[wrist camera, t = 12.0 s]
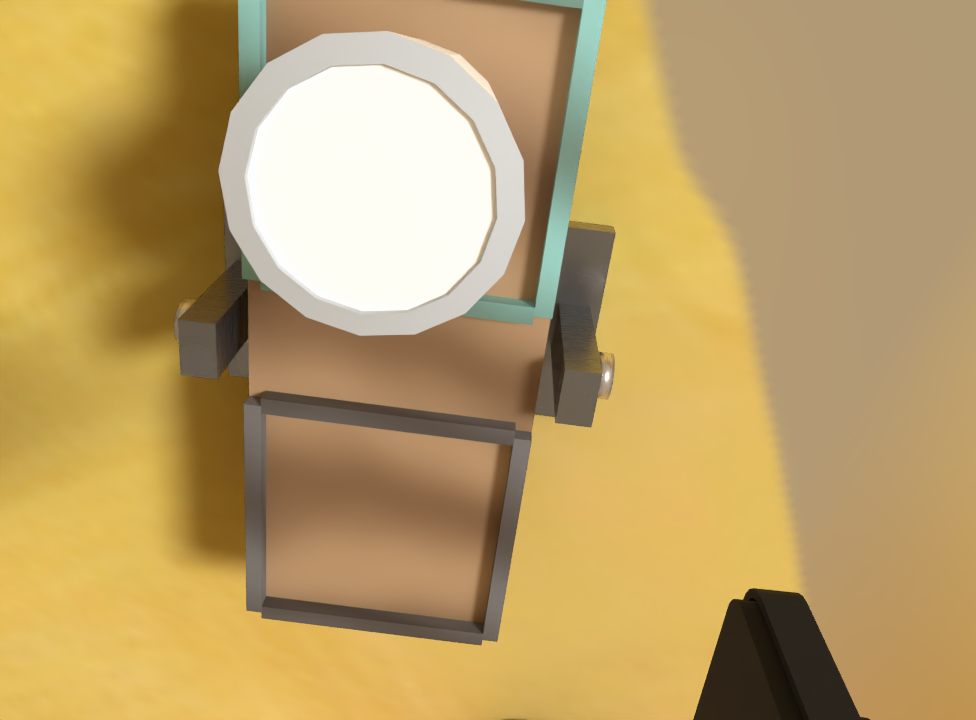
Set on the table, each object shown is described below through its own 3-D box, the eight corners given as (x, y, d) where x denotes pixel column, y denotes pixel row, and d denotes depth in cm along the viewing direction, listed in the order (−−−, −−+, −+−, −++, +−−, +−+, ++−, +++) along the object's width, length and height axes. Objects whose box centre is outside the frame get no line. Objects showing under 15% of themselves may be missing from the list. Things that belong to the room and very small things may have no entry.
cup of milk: (453, 288, 26) (430, 388, 19) (261, 176, 24) (170, 245, 18) (572, 100, 23) (589, 146, 17) (363, -36, 22) (297, -43, 16)
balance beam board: (497, 618, 33) (496, 647, 32) (258, 588, 33) (246, 616, 32) (603, -13, 23) (608, -13, 21) (255, -60, 23) (237, -63, 21)
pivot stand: (581, 410, 33) (592, 502, 28) (230, 365, 33) (167, 449, 27) (618, 227, 30) (640, 289, 24) (225, 175, 30) (152, 225, 24)
